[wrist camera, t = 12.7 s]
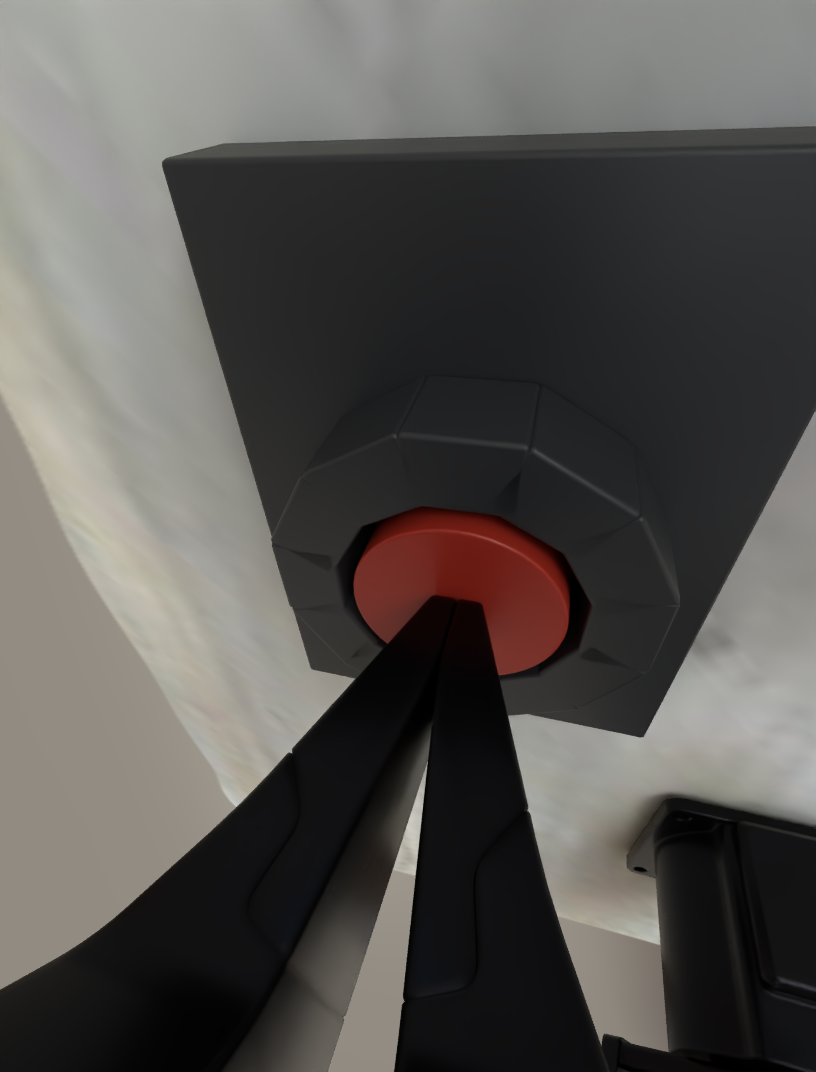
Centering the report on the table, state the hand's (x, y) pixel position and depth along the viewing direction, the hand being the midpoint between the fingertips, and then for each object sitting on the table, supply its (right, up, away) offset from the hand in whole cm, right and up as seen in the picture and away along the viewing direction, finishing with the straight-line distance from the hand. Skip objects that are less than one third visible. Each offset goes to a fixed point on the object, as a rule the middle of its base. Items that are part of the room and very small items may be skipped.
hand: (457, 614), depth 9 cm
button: (0, +1, +1) cm, 2 cm away
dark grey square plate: (+1, +2, +3) cm, 4 cm away
